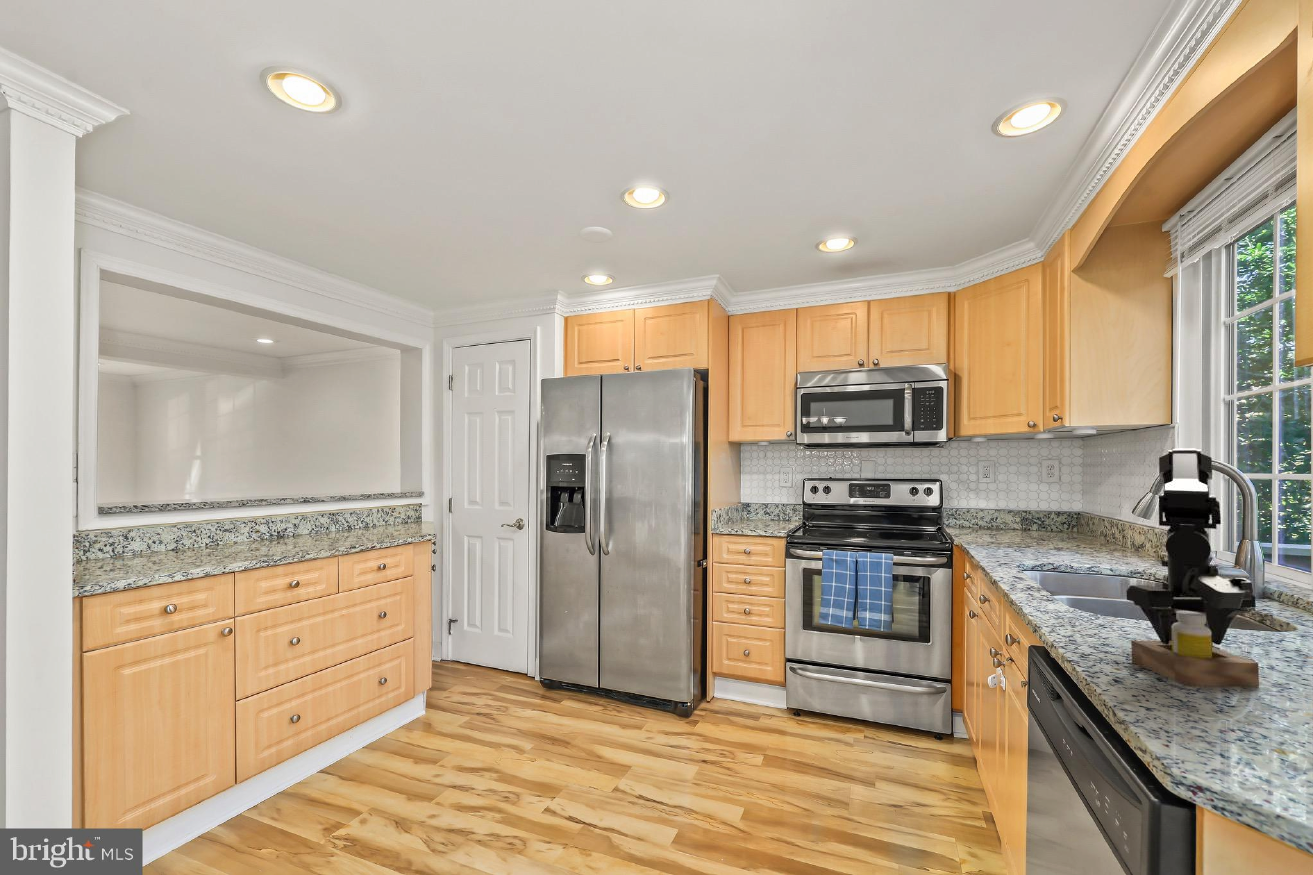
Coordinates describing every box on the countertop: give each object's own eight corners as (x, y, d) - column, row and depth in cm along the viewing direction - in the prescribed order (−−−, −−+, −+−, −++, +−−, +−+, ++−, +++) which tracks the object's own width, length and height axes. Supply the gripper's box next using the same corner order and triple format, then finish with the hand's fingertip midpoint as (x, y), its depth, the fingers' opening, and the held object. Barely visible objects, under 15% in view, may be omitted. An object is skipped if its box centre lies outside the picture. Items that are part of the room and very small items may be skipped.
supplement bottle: (1221, 674, 103) (1219, 617, 103) (1185, 672, 104) (1183, 616, 104) (1199, 663, 108) (1197, 610, 108) (1165, 661, 109) (1163, 608, 109)
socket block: (1195, 662, 112) (1194, 640, 112) (1259, 686, 100) (1258, 662, 100) (1132, 661, 112) (1131, 640, 112) (1187, 686, 100) (1187, 662, 100)
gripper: (1174, 565, 99) (1177, 659, 98) (1287, 565, 98) (1290, 659, 98) (1123, 554, 110) (1125, 638, 109) (1223, 554, 110) (1226, 639, 109)
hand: (1190, 644), depth 106 cm, fingers open, 9 cm apart
